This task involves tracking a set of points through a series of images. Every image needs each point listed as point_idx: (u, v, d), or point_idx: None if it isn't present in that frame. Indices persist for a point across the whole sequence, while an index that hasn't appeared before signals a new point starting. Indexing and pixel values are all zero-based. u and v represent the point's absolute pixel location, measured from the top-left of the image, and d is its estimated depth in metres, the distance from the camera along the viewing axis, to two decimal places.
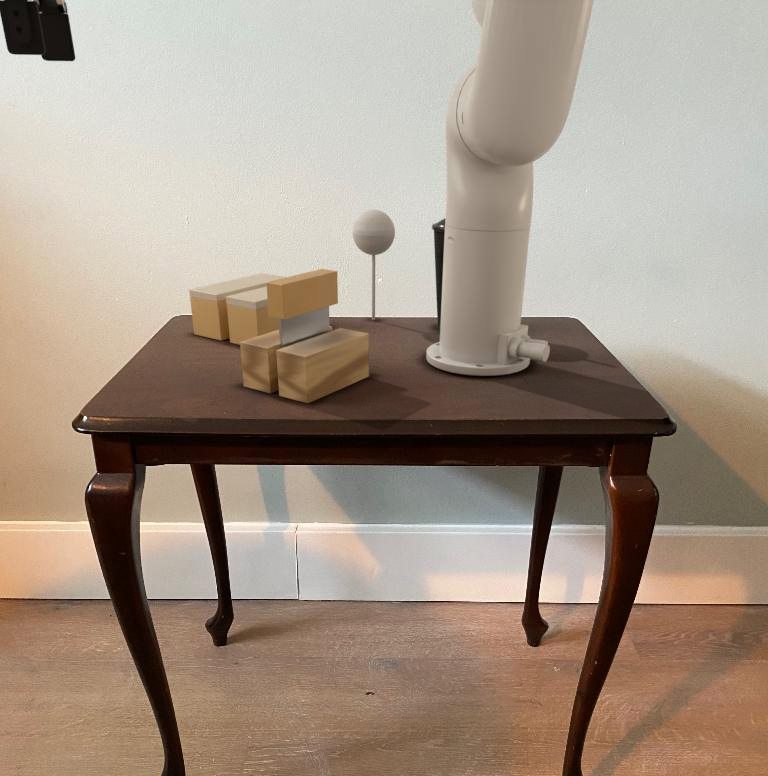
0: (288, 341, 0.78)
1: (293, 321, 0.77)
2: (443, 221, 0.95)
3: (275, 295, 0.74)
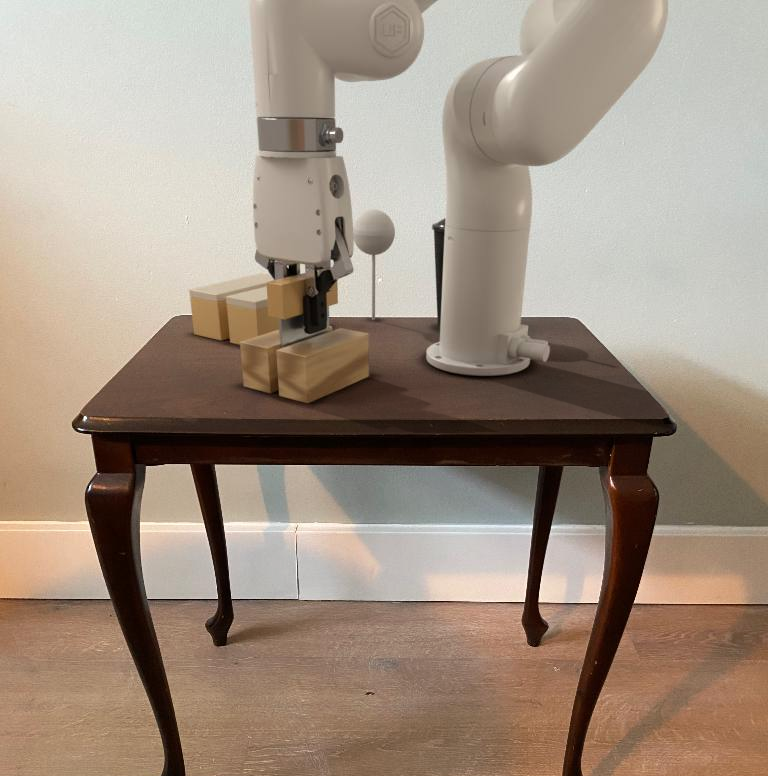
0: (288, 341, 0.78)
1: (292, 321, 0.77)
2: (443, 221, 0.95)
3: (275, 295, 0.74)
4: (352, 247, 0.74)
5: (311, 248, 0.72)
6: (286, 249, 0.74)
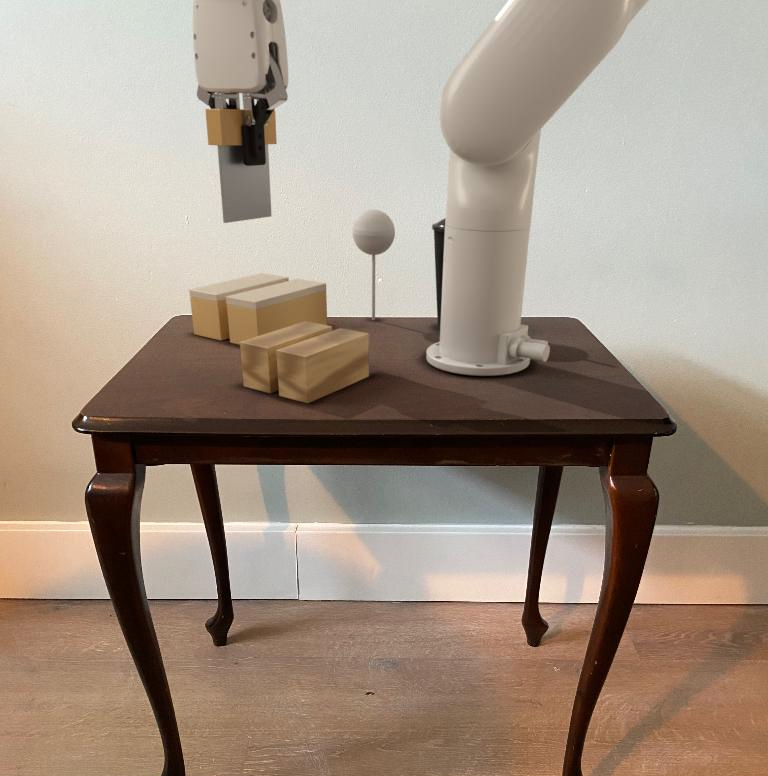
0: (228, 172, 0.82)
1: (232, 152, 0.82)
2: (443, 221, 0.95)
3: (213, 121, 0.79)
4: (287, 78, 0.79)
5: (247, 73, 0.77)
6: (224, 77, 0.79)
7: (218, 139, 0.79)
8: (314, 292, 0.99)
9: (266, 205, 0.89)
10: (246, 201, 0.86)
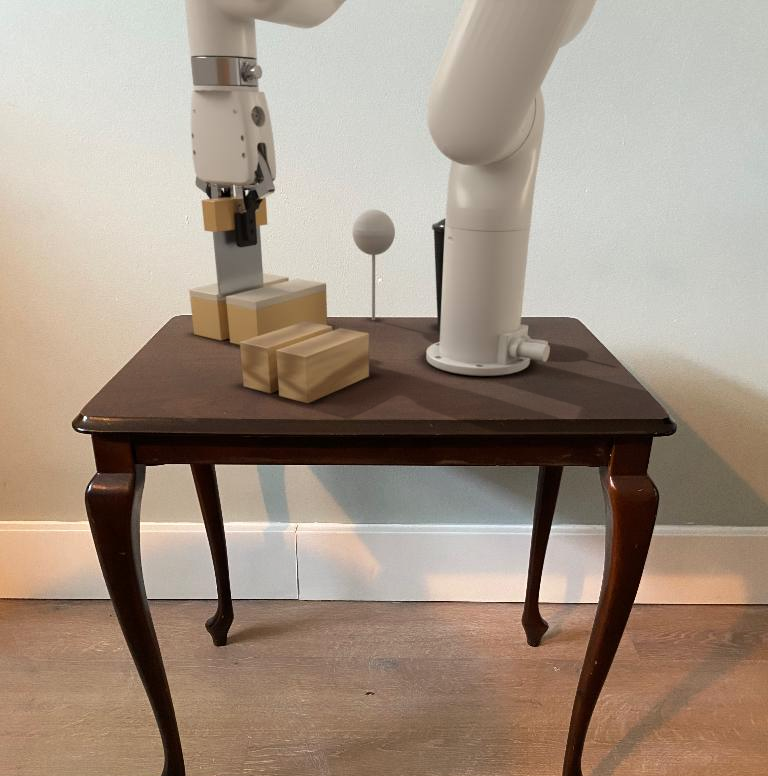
0: (222, 253, 0.91)
1: (226, 236, 0.91)
2: (443, 221, 0.95)
3: (208, 211, 0.88)
4: (274, 171, 0.88)
5: (238, 169, 0.86)
6: (218, 172, 0.88)
7: (213, 226, 0.89)
8: (314, 292, 0.99)
9: (258, 278, 0.98)
10: (240, 277, 0.95)
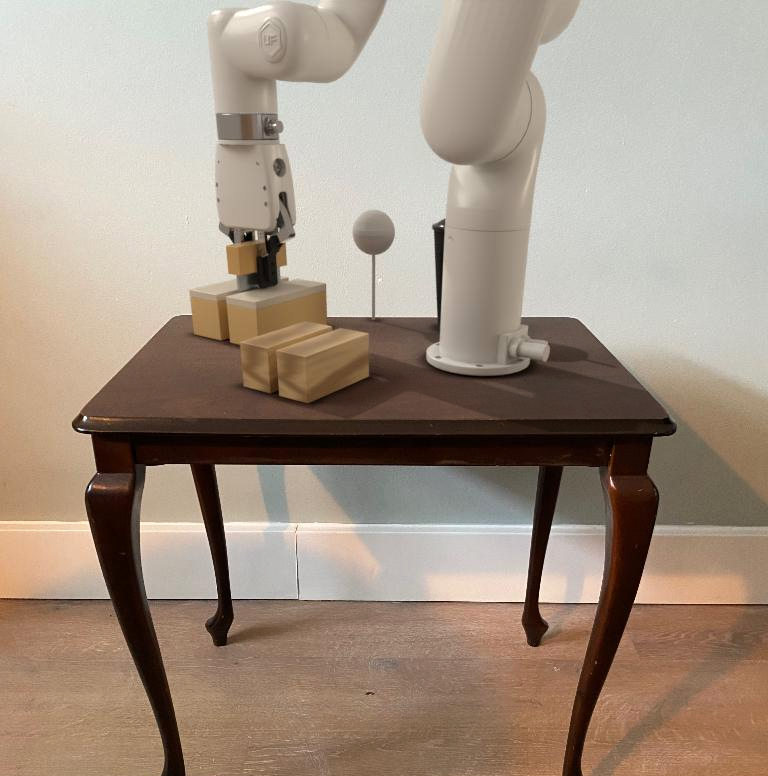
0: None
1: (248, 278, 0.96)
2: (443, 221, 0.95)
3: (232, 255, 0.93)
4: (294, 217, 0.93)
5: (261, 217, 0.91)
6: (242, 218, 0.93)
7: (237, 270, 0.93)
8: (314, 292, 0.99)
9: None
10: None
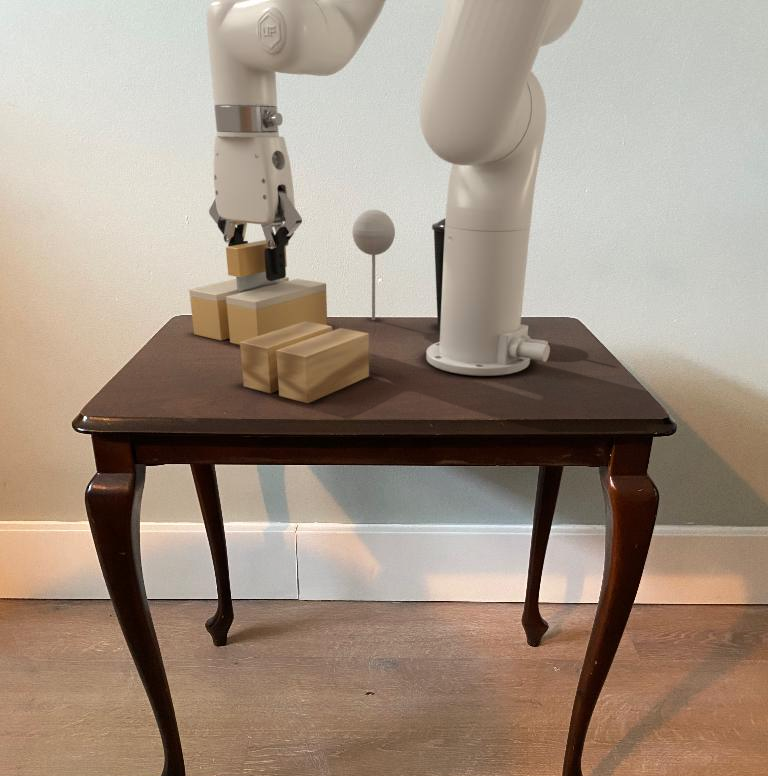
0: None
1: (248, 280, 0.96)
2: (443, 221, 0.95)
3: (232, 257, 0.93)
4: None
5: (259, 210, 0.90)
6: (240, 211, 0.92)
7: (236, 272, 0.93)
8: (314, 292, 0.99)
9: None
10: None
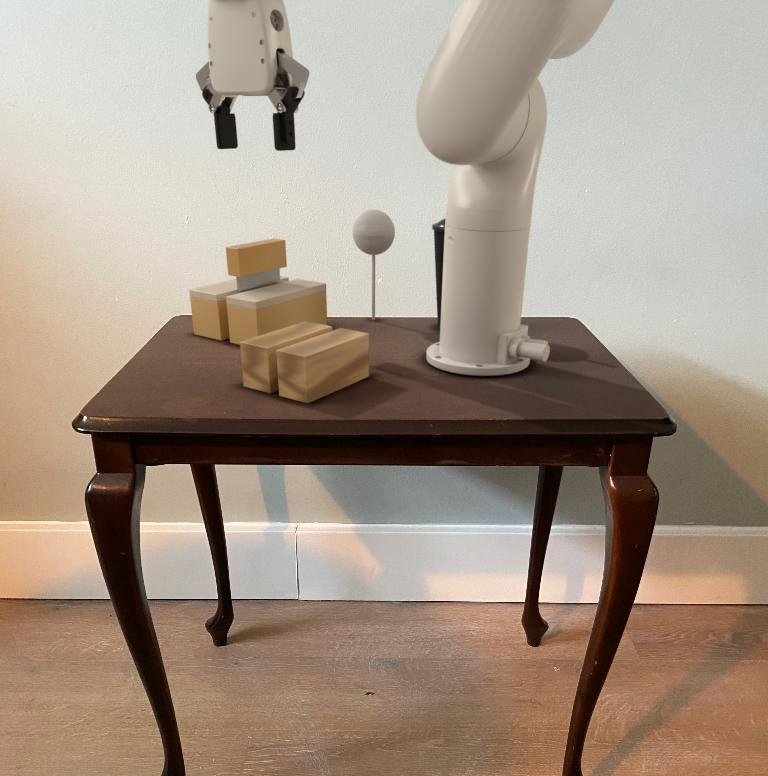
0: None
1: (248, 280, 0.96)
2: (443, 221, 0.95)
3: (232, 257, 0.93)
4: None
5: (257, 77, 0.85)
6: (236, 82, 0.87)
7: (236, 272, 0.93)
8: (314, 292, 0.99)
9: None
10: None
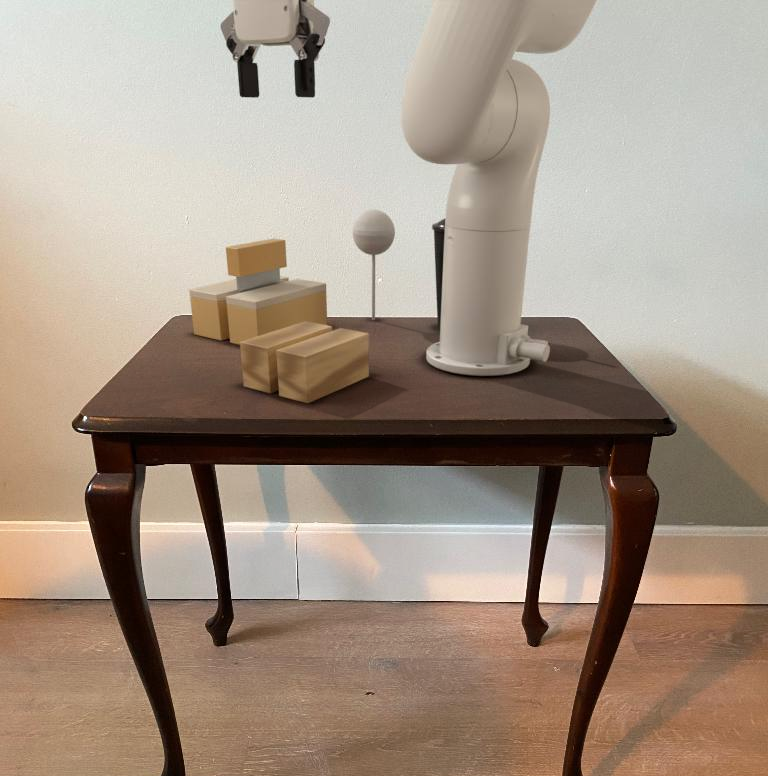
0: None
1: (248, 280, 0.96)
2: (443, 221, 0.95)
3: (232, 257, 0.93)
4: None
5: (280, 24, 0.89)
6: (260, 29, 0.91)
7: (236, 272, 0.93)
8: (314, 292, 0.99)
9: None
10: None
